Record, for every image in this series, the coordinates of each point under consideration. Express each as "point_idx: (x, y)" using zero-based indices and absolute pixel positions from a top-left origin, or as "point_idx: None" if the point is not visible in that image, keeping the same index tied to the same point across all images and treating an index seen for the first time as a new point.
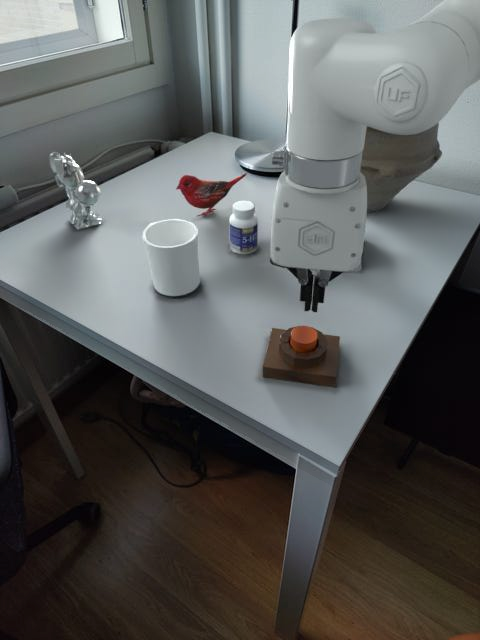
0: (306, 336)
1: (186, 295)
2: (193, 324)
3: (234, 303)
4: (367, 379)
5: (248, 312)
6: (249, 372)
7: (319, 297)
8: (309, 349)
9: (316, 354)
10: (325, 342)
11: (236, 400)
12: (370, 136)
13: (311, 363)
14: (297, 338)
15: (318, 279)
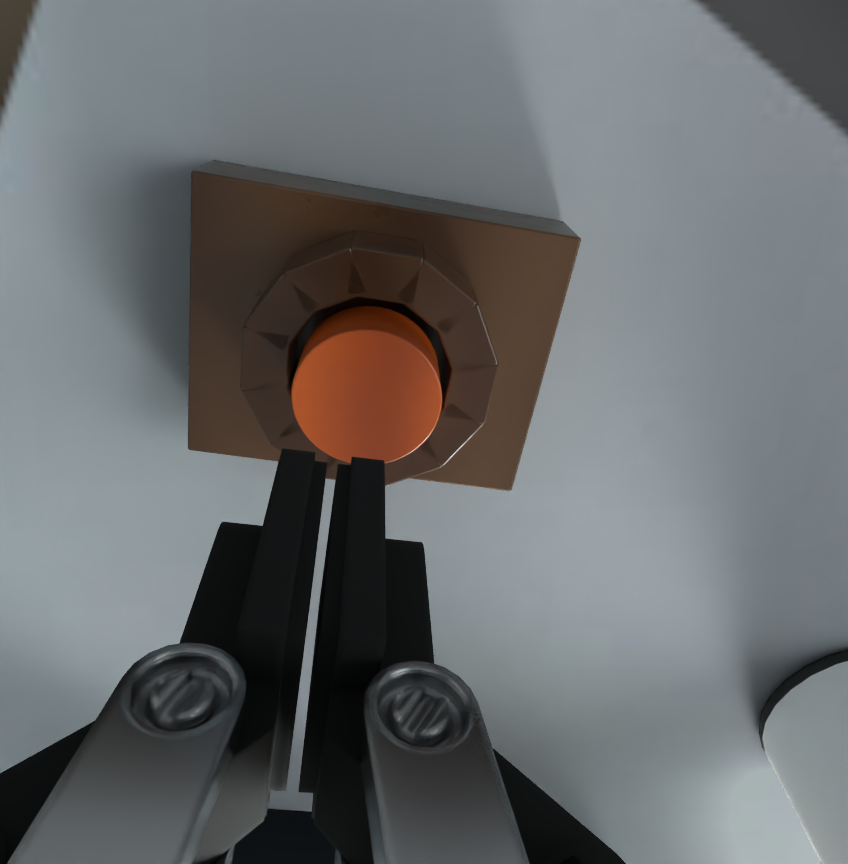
0: (355, 384)
1: (826, 660)
2: (824, 520)
3: (636, 630)
4: (56, 220)
5: (584, 588)
6: (621, 252)
7: (252, 559)
8: (338, 317)
9: (300, 285)
10: (251, 375)
11: (709, 61)
12: None
13: (329, 246)
14: (407, 367)
15: (241, 735)
